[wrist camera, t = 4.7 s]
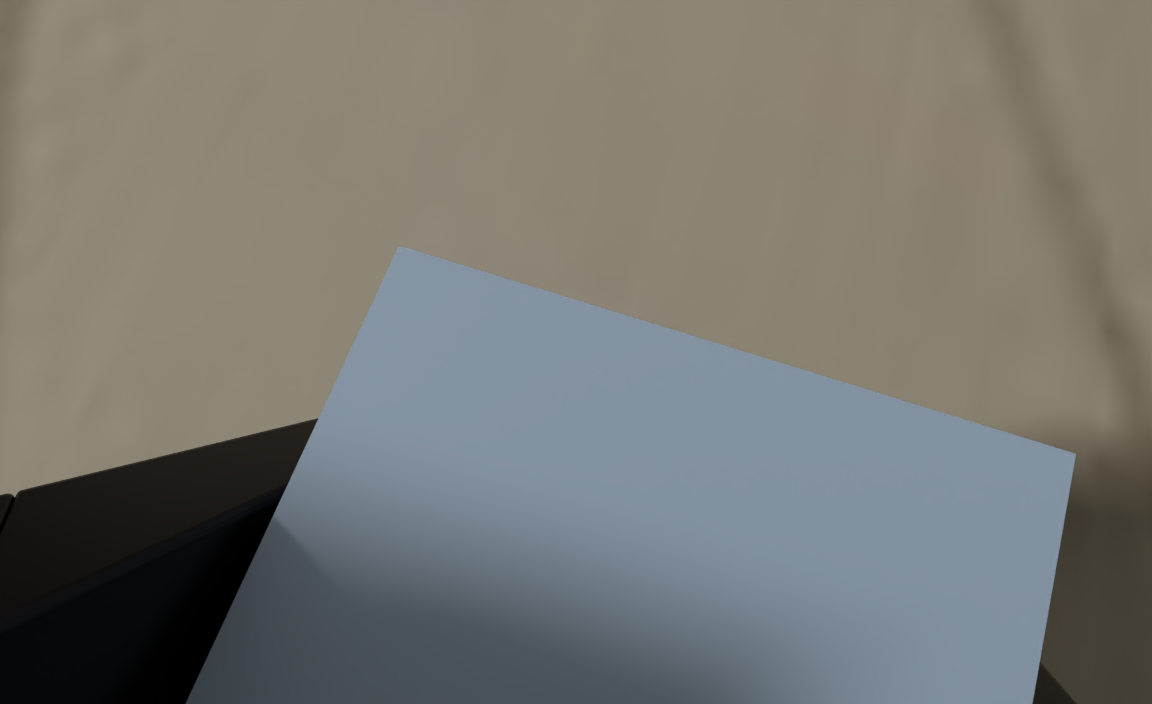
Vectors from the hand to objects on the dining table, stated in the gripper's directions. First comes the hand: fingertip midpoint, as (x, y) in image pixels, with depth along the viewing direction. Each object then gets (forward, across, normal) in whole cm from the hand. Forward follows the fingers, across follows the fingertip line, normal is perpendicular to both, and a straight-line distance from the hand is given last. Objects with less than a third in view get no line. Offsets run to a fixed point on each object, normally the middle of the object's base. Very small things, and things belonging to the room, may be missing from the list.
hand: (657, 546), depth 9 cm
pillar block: (+4, 0, +6) cm, 7 cm away
